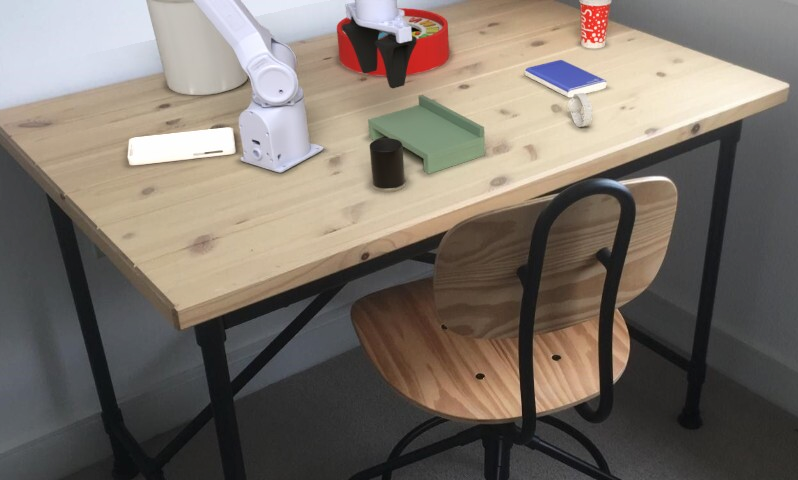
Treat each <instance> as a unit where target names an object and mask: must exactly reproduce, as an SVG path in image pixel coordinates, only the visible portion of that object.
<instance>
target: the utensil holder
mask: <svg viewBox="0 0 798 480" xmlns="http://www.w3.org/2000/svg"><path fill="white" fill-rule="evenodd" d="M145 1H146V5H147V10H148V14H149V18H150V22H151V27H152V30H153V34H154V38H155V41H156V46H157V51H158V54H159V59H160V62H161V65H162V69H163V72H164V77H165V81H166V85H167V87H168V88H169V89H170V90H171V91H173V92H174V93H177V94H182V95H187V96H188V95H189V96H208V95H209V96H210V95H216V94H220V93H221V94H222V93H224V92H228V91H231V90H234V89H236V88H238V87H240V86H242V85H243V84H245V83H246V82H247V80H248V78H249V76H248V75H247V73H246V72H245V71H244V70H243V68H242V67H241V65H240V62H239V60H238V58H237V56H236V54H235V52H234V50H233V48H232V47H231V46H230V45H229V43H228V42H227V41H226V40H225V39H224V37H223V36H222V35H221V34H220V32H219V31H218V30H217V29H216V28H215V26H214V25H213V24H212V23H211V22H210V20H209V19H208V18H207V17H206V15H205V14H204V13H203V12H202V11H201V9H200V8H199V7H198V6H197V4H196V3H195V2H194V1H193V0H145Z"/></svg>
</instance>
